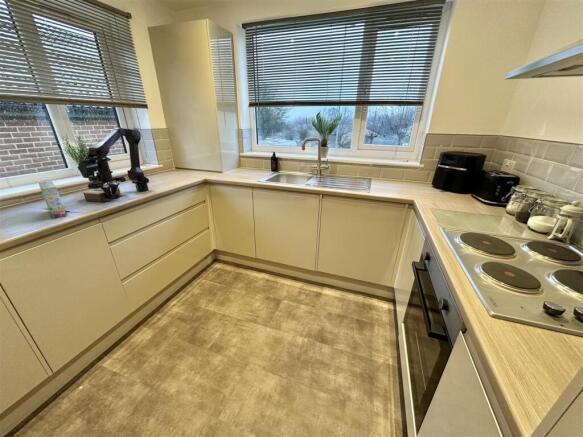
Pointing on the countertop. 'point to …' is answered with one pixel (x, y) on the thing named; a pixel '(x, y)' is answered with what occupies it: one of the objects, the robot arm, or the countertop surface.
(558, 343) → the countertop surface
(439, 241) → the countertop surface
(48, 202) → the snack box
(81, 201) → the cake board
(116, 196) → the knife
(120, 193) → the sheet cake
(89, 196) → the cake slice
